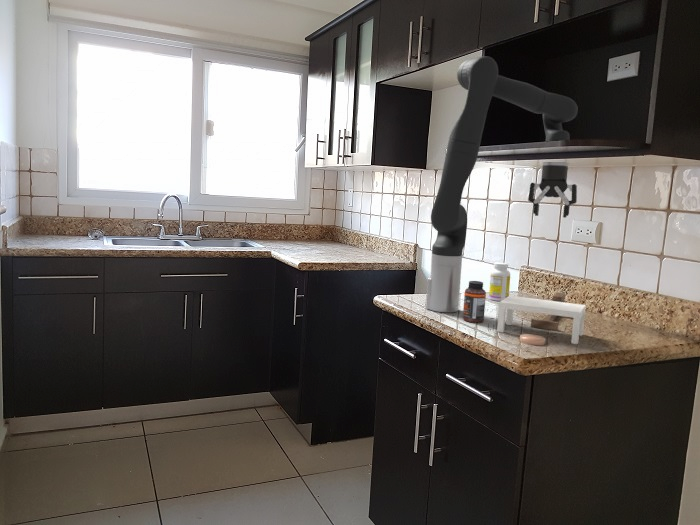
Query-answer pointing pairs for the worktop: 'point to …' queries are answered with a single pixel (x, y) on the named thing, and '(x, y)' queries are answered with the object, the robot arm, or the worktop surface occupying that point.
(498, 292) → the supplement bottle
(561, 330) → the worktop surface
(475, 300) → the supplement bottle
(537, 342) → the terracotta coaster
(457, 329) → the worktop surface
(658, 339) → the worktop surface
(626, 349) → the worktop surface
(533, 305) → the white shelf
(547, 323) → the walnut push stick
